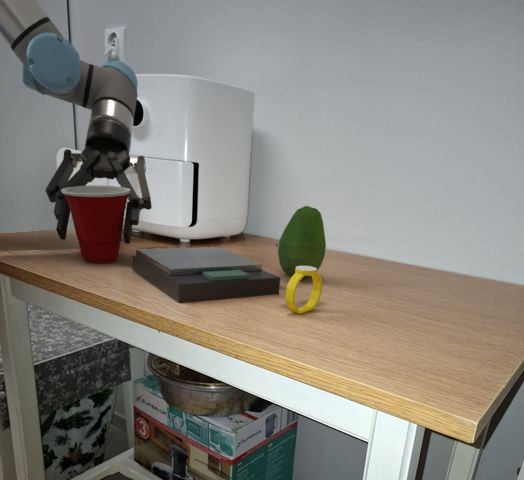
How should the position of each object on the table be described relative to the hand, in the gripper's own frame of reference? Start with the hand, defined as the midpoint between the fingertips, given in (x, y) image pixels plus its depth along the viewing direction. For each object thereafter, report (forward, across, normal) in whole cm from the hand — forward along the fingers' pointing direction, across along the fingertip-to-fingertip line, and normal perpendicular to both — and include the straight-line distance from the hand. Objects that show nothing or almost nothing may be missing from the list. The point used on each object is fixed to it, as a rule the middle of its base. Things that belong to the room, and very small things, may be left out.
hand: (93, 236), depth 79 cm
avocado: (+5, -34, -2) cm, 34 cm away
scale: (+9, -18, +2) cm, 20 cm away
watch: (+18, -32, +12) cm, 38 cm away
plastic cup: (+1, 0, -5) cm, 5 cm away
